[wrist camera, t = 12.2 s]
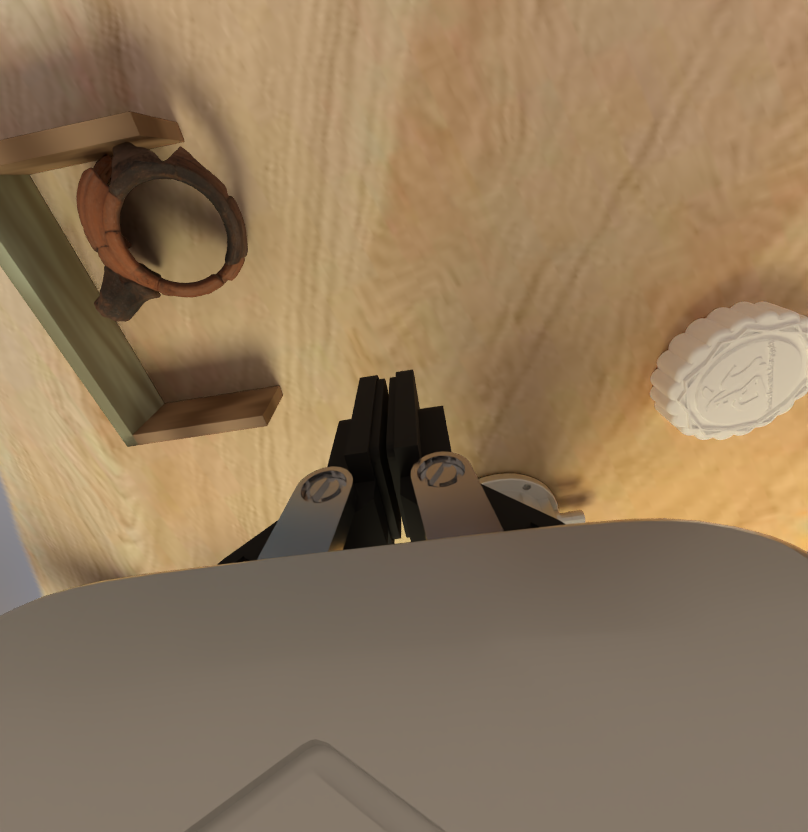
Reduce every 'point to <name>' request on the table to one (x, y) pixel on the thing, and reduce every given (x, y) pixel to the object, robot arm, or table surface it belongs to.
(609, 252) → the table surface
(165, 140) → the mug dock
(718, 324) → the mooncake
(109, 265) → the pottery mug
